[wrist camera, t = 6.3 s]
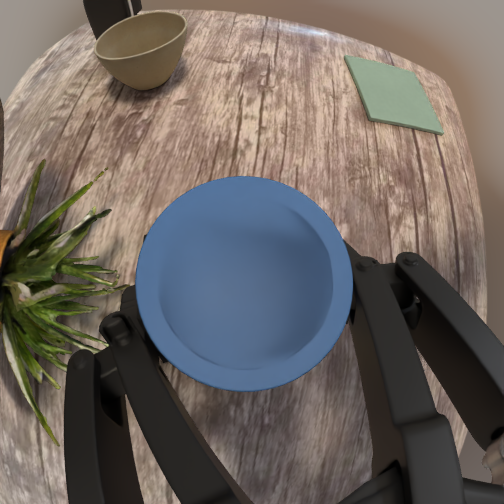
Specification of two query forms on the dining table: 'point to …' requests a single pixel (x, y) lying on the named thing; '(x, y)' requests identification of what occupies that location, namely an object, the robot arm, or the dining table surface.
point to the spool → (244, 284)
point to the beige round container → (143, 48)
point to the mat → (393, 95)
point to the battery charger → (109, 13)
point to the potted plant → (43, 287)
